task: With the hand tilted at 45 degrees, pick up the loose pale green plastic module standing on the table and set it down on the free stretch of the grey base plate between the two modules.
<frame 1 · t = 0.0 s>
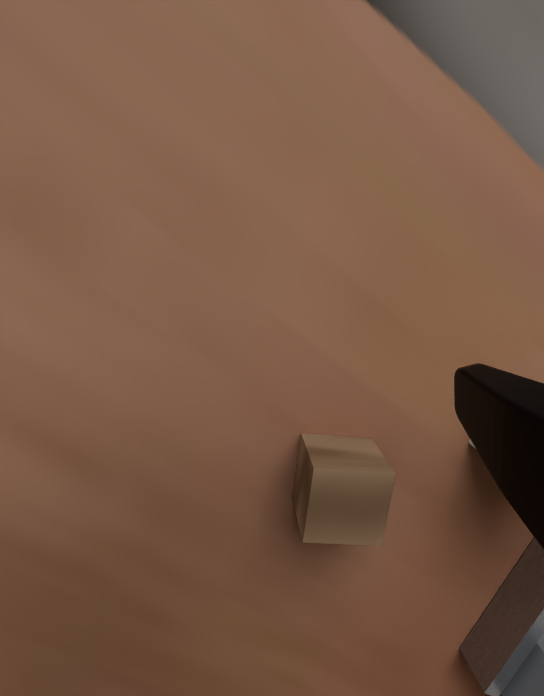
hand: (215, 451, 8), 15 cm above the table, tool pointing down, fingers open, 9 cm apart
module a: (541, 649, 30), resting on grey base plate
walnut block: (330, 467, 26), on the table
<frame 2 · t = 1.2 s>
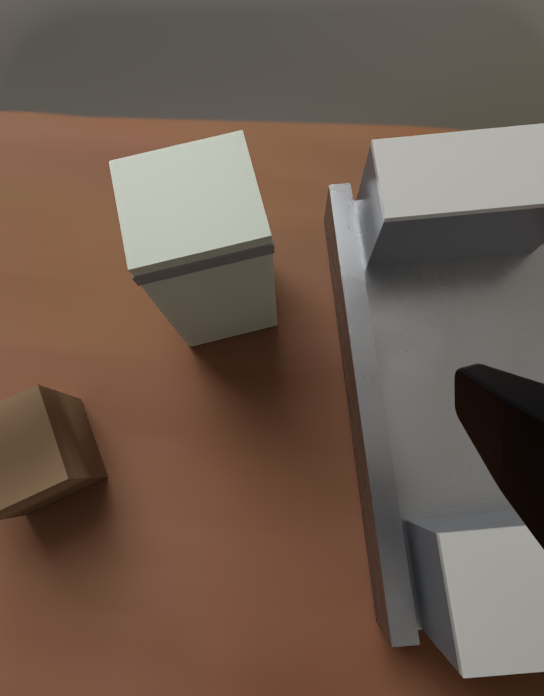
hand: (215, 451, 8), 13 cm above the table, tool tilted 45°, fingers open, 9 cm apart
module a: (496, 557, 20), resting on grey base plate
walnut block: (55, 455, 21), on the table
module b: (433, 240, 24), resting on grey base plate
grey base plate: (462, 386, 22), on the table
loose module: (225, 299, 23), on the table
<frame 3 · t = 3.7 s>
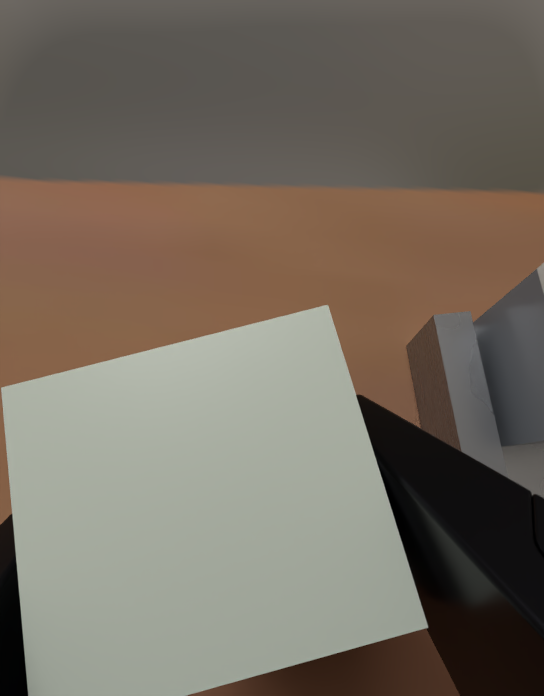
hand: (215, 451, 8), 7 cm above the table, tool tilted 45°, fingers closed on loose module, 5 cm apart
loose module: (253, 485, 14), on the table, touching gripper
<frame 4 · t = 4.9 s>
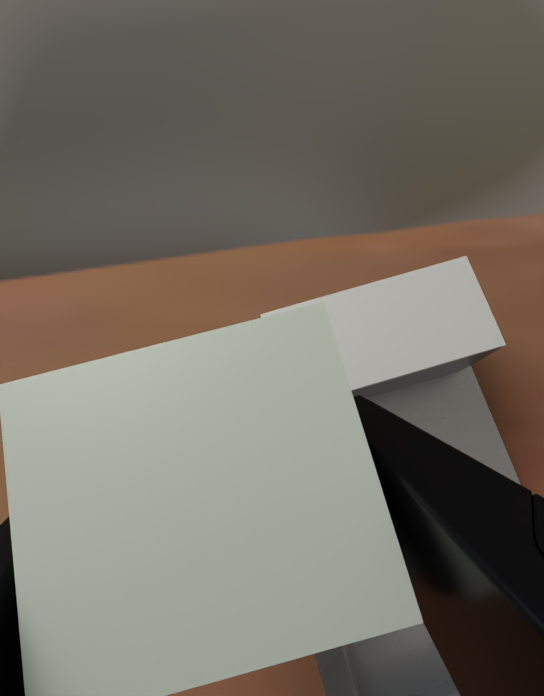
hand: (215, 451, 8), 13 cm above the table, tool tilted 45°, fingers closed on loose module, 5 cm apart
module b: (357, 365, 22), resting on grey base plate
grey base plate: (414, 529, 20), on the table
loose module: (251, 483, 14), point 7 cm above the table, touching gripper
when the fingers open (9 cm above the table, at t = 6.3 s): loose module drops 1 cm, resting on grey base plate.
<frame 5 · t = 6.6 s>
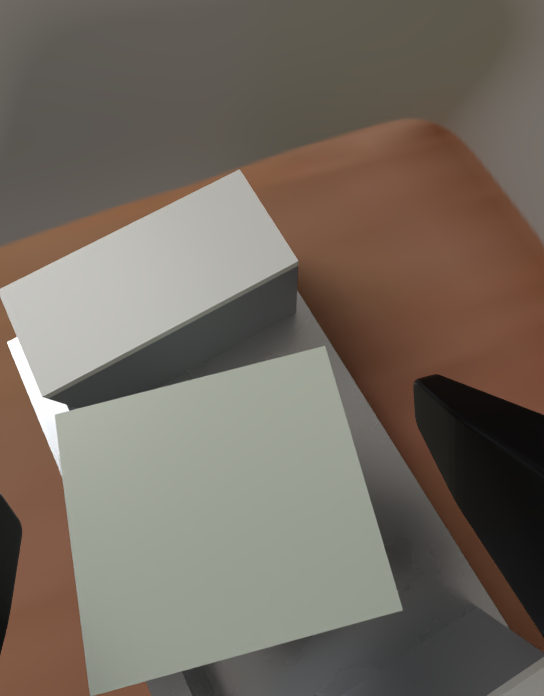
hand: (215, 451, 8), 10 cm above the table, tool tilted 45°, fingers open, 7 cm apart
module b: (189, 335, 19), resting on grey base plate
grey base plate: (281, 508, 17), on the table
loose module: (256, 484, 16), point 2 cm above the table, touching grey base plate
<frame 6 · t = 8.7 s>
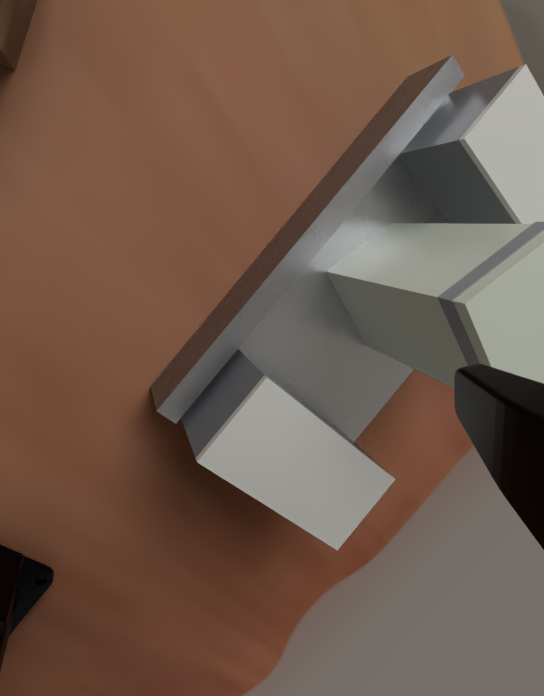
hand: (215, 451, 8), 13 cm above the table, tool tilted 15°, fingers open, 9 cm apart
module a: (261, 415, 23), resting on grey base plate
module b: (447, 190, 24), resting on grey base plate
grey base plate: (353, 303, 24), on the table
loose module: (379, 286, 22), point 1 cm above the table, touching grey base plate
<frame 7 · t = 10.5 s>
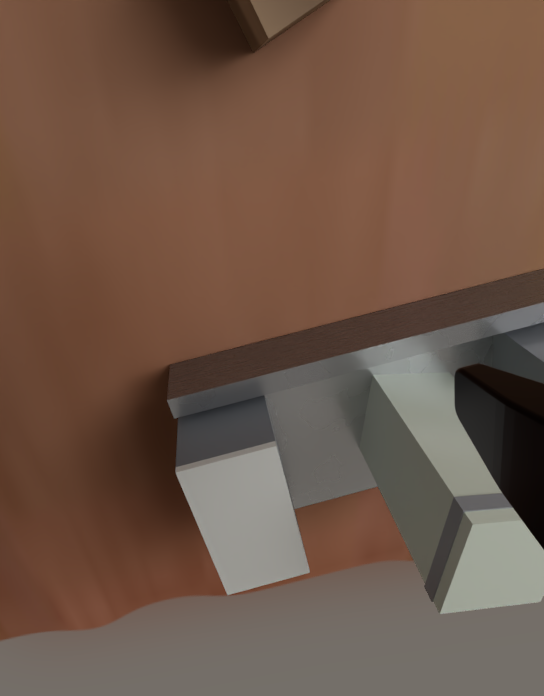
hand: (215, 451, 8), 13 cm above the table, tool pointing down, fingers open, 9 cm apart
module a: (238, 440, 24), resting on grey base plate
module b: (506, 369, 25), resting on grey base plate
grey base plate: (372, 405, 25), on the table
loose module: (402, 411, 23), point 1 cm above the table, touching grey base plate
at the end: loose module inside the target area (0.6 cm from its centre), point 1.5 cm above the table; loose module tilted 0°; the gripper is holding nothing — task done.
